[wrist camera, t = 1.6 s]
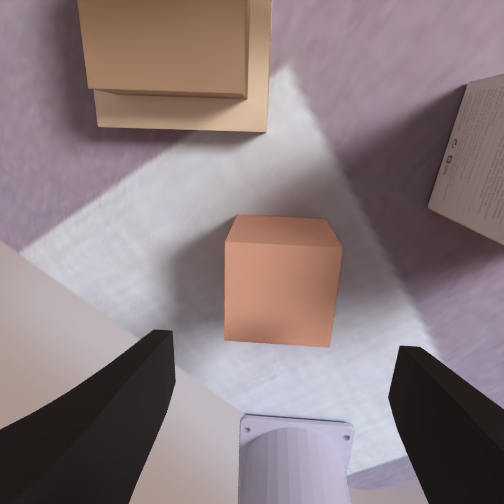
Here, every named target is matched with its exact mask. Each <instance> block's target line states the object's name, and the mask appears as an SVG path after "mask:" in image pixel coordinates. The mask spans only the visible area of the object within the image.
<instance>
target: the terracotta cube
mask: <svg viewBox="0 0 504 504" xmlns="http://www.w3.org/2000/svg"><path fill="white" fill-rule="evenodd" d="M342 253H343V247H342V245H341V243H340V242H339V240H338V238H337V236H336V235H335V233H334V231H333V230H332V228H331V226H330V225H329V223H328V221H327V219H323V218H302V217H281V216H259V215H238V214H237V216H236V218H235V221H234V223H233V225H232V227H231V229H230V232H229V234H228V236H227V238H226V240H225V341H240V342H255V343H270V344H285V345H301V346H316V347H330V341H331V334H332V326H333V319H334V312H335V304H336V297H337V290H338V282H339V275H340V268H341V260H342Z"/></svg>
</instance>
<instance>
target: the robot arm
mask: <svg viewBox="0 0 504 504" xmlns="http://www.w3.org/2000/svg"><path fill="white" fill-rule="evenodd" d="M175 381H176V380H175V363H174V347H173V331H168V330H153V331H151V332H150V333H149V334H147V335H146V336H145V337H143V338H142V339H141V340H140V341H138V342H137V343H136V344H134V345H133V346H132V347H131V348H129V349H128V350H127V351H125V352H124V353H123V354H121V355H120V356H119V357H117V358H116V359H115V360H114V361H112V362H111V363H109V364H108V365H107V366H105V367H104V368H102V369H101V370H100V371H98V372H97V373H95V374H94V375H92V376H91V377H90V378H88V379H87V380H85V381H84V382H82V383H81V384H79V385H78V386H76V387H75V388H73V389H72V390H70V391H69V392H67V393H66V394H64V395H62V396H61V397H59V398H57V399H56V400H54V401H52V402H51V403H49V404H47V405H45V406H44V407H42V408H40V409H39V410H37V411H35V412H33V413H32V414H30V415H28V416H26V417H24V418H22V419H20V420H18V421H16V422H14V423H12V424H10V425H8V426H6V427H4V428H2V429H1V430H0V504H129V501H130V499H131V496H132V494H133V491H134V488H135V486H136V483H137V481H138V479H139V476H140V474H141V472H142V469H143V467H144V465H145V462H146V460H147V458H148V455H149V453H150V451H151V448H152V446H153V444H154V441H155V439H156V437H157V434H158V432H159V430H160V427H161V425H162V422H163V420H164V418H165V415H166V413H167V410H168V406H169V403H170V400H171V396H172V393H173V389H174V386H175ZM388 398H389V402H390V406H391V410H392V413H393V417H394V420H395V423H396V427H397V430H398V432H399V435H400V437H401V440H402V442H403V445H404V447H405V449H406V452H407V454H408V456H409V459H410V461H411V463H412V466H413V468H414V470H415V473H416V475H417V477H418V480H419V482H420V484H421V487H422V489H423V491H424V494H425V496H426V498H427V501H428V503H429V504H504V409H503V408H501V407H500V406H499V405H497V404H496V403H495V402H493V401H492V400H490V399H489V398H488V397H486V396H485V395H484V394H482V393H481V392H479V391H478V390H477V389H475V388H474V387H473V386H472V385H470V384H469V383H468V382H466V381H465V380H464V379H462V378H461V377H460V376H458V375H457V374H456V373H454V372H453V371H452V370H451V369H449V368H448V367H447V366H445V365H444V364H443V363H441V362H440V361H439V360H437V359H436V358H435V357H434V356H432V355H431V354H429V353H428V352H427V351H425V350H424V349H422V348H421V347H414V346H400V347H399V351H398V356H397V360H396V364H395V369H394V373H393V378H392V382H391V387H390V391H389V396H388ZM245 427H248V428H245ZM344 435H347V436H344ZM353 437H354V428H353V426H352V425H351V424H350V423H342V422H329V421H316V420H303V419H290V418H277V417H264V416H252V415H245V416H243V417H242V418H241V420H240V448H239V487H238V504H351V500H350V495H349V490H348V485H347V480H346V474H347V469H348V464H349V458H350V453H351V448H352V442H353Z"/></svg>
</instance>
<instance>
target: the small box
mask: <svg viewBox="0 0 504 504" xmlns="http://www.w3.org/2000/svg"><path fill="white" fill-rule="evenodd" d="M428 209H430V210H432V211H434V212H436V213H438V214H440V215H442V216H444V217H446V218H448V219H450V220H452V221H454V222H456V223H458V224H461V225H463V226H465V227H467V228H469V229H471V230H473V231H475V232H477V233H479V234H481V235H483V236H485V237H487V238H489V239H491V240H493V241H495V242H497V243H499V244H501V245H503V246H504V74H500V75H496V76H492V77H488V78H485V79H480V80H476V81H471V82H469V83H468V85H467V87H466V90H465V93H464V97H463V99H462V102H461V105H460V108H459V112H458V115H457V118H456V120H455V123H454V127H453V130H452V133H451V136H450V139H449V142H448V145H447V148H446V151H445V154H444V157H443V161H442V164H441V167H440V170H439V173H438V176H437V179H436V182H435V186H434V189H433V192H432V195H431V198H430V201H429V204H428Z"/></svg>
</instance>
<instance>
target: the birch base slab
mask: <svg viewBox="0 0 504 504" xmlns="http://www.w3.org/2000/svg"><path fill="white" fill-rule="evenodd" d="M271 22H272V0H250V29H249V64H248V99H225V98H196V97H166V96H137V95H116V94H111V93H107V92H103V91H98V90H94V89H93V91H94V99H95V107H96V115H97V122H98V127H116V128H149V129H182V130H215V131H248V132H267V118H268V94H269V70H270V46H271Z"/></svg>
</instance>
